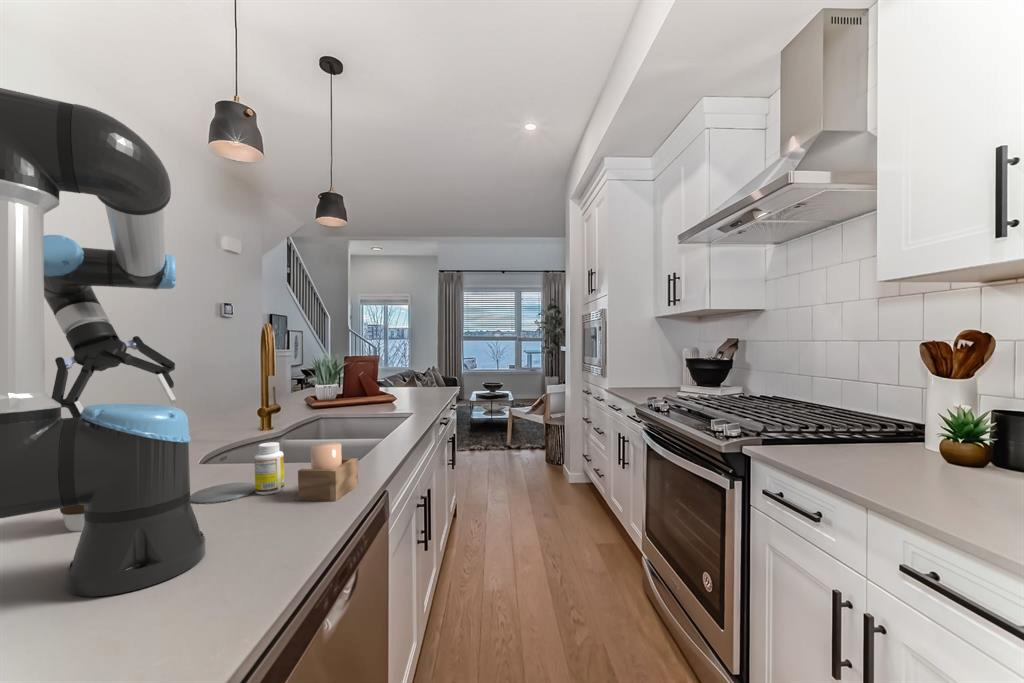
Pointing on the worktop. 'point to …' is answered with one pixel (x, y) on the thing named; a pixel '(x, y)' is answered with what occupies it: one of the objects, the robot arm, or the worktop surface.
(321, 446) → the peach cylinder
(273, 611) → the worktop surface
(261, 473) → the supplement bottle
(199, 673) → the worktop surface
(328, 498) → the wooden base
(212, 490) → the slate coaster
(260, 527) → the worktop surface
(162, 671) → the worktop surface
